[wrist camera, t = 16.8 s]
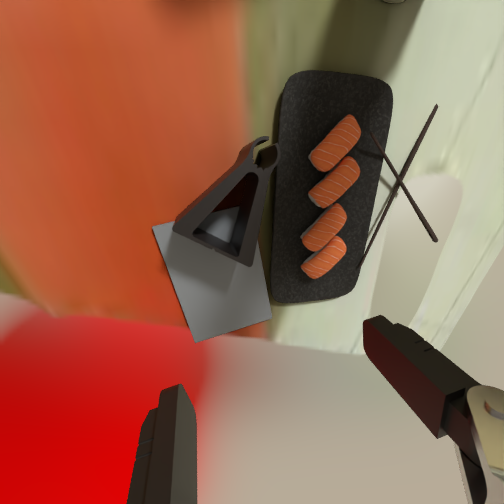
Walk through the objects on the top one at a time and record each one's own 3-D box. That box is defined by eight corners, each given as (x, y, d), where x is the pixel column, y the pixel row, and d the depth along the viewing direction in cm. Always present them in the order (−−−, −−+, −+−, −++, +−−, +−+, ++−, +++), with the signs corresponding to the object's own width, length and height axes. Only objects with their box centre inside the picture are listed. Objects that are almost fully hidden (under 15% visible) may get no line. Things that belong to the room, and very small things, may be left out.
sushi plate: (276, 71, 26) (290, 58, 23) (481, 94, 33) (515, 87, 30) (265, 299, 37) (273, 314, 33) (422, 280, 44) (442, 291, 40)
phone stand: (170, 230, 23) (230, 109, 21) (175, 219, 28) (223, 124, 26) (250, 268, 26) (309, 165, 24) (240, 252, 31) (288, 168, 29)
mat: (249, 202, 30) (250, 203, 30) (271, 316, 37) (272, 318, 37) (152, 226, 28) (152, 227, 28) (194, 340, 35) (195, 343, 35)
